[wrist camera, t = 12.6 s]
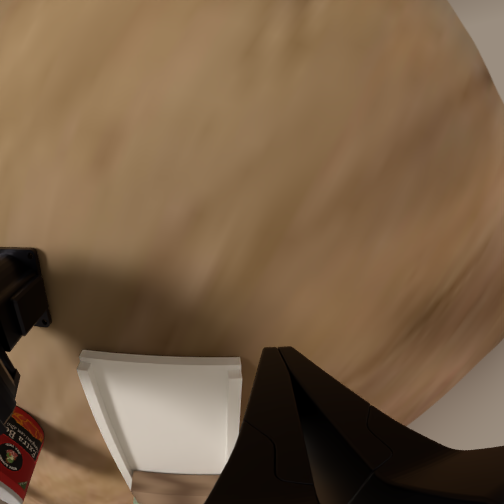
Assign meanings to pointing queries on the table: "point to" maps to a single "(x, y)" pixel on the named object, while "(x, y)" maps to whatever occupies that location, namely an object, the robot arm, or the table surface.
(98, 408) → the track
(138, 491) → the block
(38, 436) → the canned food
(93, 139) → the table surface
